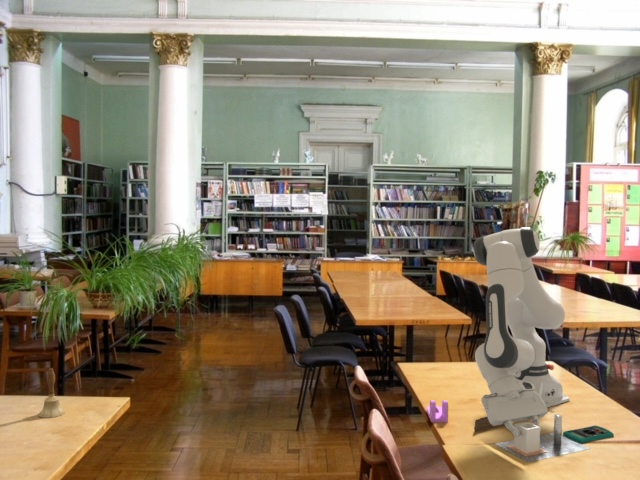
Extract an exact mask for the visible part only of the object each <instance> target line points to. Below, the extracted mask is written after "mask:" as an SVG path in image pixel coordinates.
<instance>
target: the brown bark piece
mask: <svg viewBox="0 0 640 480" xmlns="http://www.w3.org/2000/svg"><path fill="white" fill-rule="evenodd" d="M498 426H505V424H502V425H496V426H493V425H492V424H490V422H489V420H488V418H487V416H484V417H479V418H478V419H475V421H474V427H473V429H474V432H477V431H480V430H486V429H489V428H493V427H498Z"/></svg>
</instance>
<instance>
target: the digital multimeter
mask: <svg viewBox="0 0 640 480" xmlns="http://www.w3.org/2000/svg"><path fill="white" fill-rule="evenodd" d="M614 435H615V434H614V433H613V432H612V431H610V430H608V429H607V428H605V427H603V426H598V425H591V426H587V427H582V428H576V429H570V430H565V431H563V432H562V436H564V437H566V438H569V439H571V440H573V441H575V442H577V443H579V444H584V443H589V442H593V441H597V440H603V439H608V438H614Z"/></svg>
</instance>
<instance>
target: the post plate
mask: <svg viewBox="0 0 640 480" xmlns="http://www.w3.org/2000/svg"><path fill="white" fill-rule="evenodd" d="M562 425H563V416H562V415H561V414H554V416H553V432H549V433H543V434H540V449H539V451H535V452H531V453H524V452H523V451H521V450H519V449H517V448H515V447H514V439H513V440H506V441H503V442H497V443H494V445H495V446H497V447H499V448H500V449H503V450H504V451H506V452H508V453H510V454H512V455H513V456H515V457H517V458H519V459H520V460H523V461H525V462H526V463H532V462H536V461H541V460H545V459H551V458H555V457H560V456H564V455H568V454H569V455H570V454H573V453H579V452H583V451H587V450H590V449H591V448H590V447H588V446H586V445H585V444H582V443H578V442H576V441H574V440H571V439H569V438H567V437H565V436H563V432H562V431H563V429H562V428H563V426H562Z"/></svg>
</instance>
